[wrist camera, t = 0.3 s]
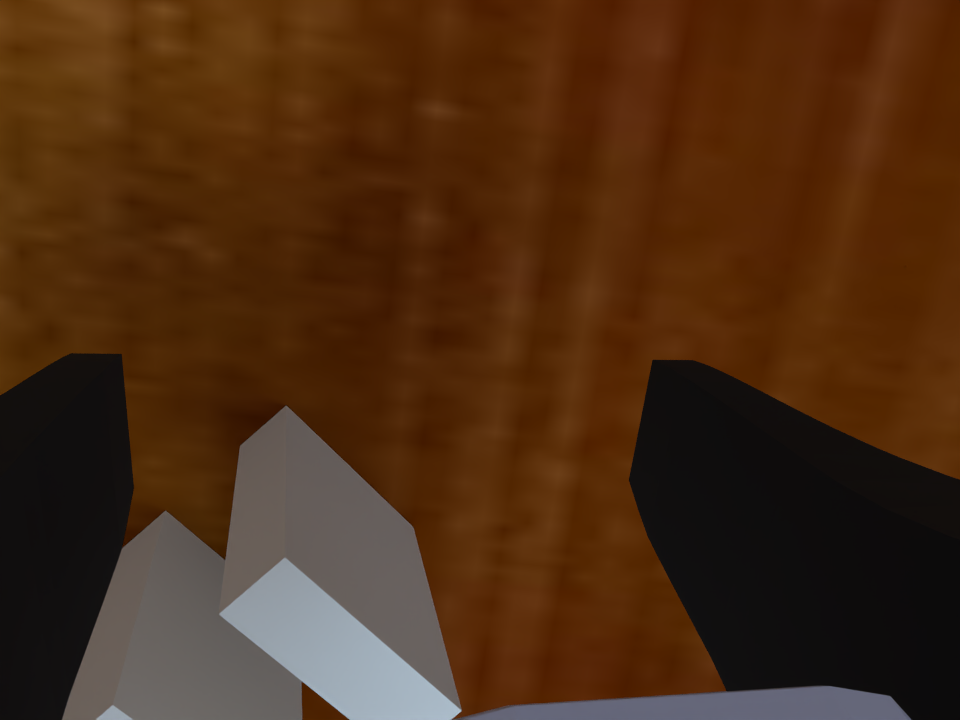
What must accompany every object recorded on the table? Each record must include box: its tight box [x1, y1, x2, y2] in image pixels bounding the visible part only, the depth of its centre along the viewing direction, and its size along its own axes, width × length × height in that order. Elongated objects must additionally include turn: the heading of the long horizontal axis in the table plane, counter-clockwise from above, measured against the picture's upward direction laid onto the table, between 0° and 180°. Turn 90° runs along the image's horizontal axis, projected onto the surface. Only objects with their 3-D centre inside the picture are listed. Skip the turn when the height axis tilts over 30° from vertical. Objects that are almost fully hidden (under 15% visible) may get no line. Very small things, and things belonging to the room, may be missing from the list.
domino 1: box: [62, 511, 302, 720], centre depth 21 cm, size 2×5×8 cm, turn 40°
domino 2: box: [219, 406, 462, 720], centre depth 20 cm, size 2×5×8 cm, turn 39°
